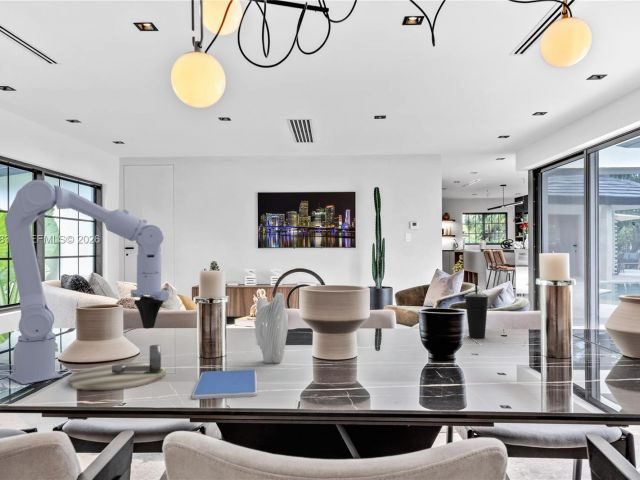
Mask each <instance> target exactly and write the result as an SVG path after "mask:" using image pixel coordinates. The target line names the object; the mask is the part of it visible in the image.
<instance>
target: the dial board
mask: <svg viewBox="0 0 640 480" xmlns="http://www.w3.org/2000/svg"><path fill="white" fill-rule="evenodd" d="M116 364H117V363H115V364H107V365H106V364H105V365H99V366H95V367H90V368H86V369H83V370H80V371H77V372H74V373H72V374H71V375H70V376H69V377H68V378H67V379H68V380H67V382H68V386H69V385H70V386H71V388H72V387H73V388H72V389H75V388H77V389H76V390H79V389H82V391H89V390H105V391H114V390H113V389H118V390H123V389H122V388H126V389H131V388H130V387H132V388H136V386H138V387H141V386H140V385H142V386H145V385H144V384H146V385H149V384H148V383H150V384H152V383H151V382H153V383H155V382H154V381H156V380H158V379H160V378H162V377H163V376H166V375H165V374H167V369H166V367H165V366H164V365H161V370H160V371H156V372H151V371H125V372H119V373H113V372H112V366H113V365H116ZM121 364H126V366H140V365H150V362H149V363H148V362H126V363H121ZM163 378H164V377H163ZM163 378H162V379H163ZM160 380H161V379H160ZM158 381H159V380H158ZM156 382H157V381H156ZM70 386H69V387H70Z"/></svg>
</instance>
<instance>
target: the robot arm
mask: <svg viewBox="0 0 640 480" xmlns="http://www.w3.org/2000/svg"><path fill="white" fill-rule="evenodd" d="M55 206H56V209H57V210H65V209H72V210H73V211H76V212H78V213H80V214H83V215H85V216H88V217H90V218H92V219H94V220H97V221H100V222H101V223H103V224H104V226H105V229H106V230H107V231H108V232H110V233H111V234H112V233H113V234H115V235H117V236H119V237H122V238H123V239H126V240H128V241H130V242H134V241H135V243H136V244H137V255H136V289H130V298H139V299H136V300H134V302H133V303H134V305H135V307H136V308H137V311H138V312H139V315H140V320H141V323H142V327H143V329H146V330H147V329H153V328H155V324H156V321H157V316H158V314H159V311H160V309H161V307H162V305H163V304H164V301H168V300H169V291H166V290H165V289H162V255H161V253H162V248H161V247H162V246H161V245H162V243H163V242H164V238H165V236H164V234H163V232H162V230H161V229H160V227H158V226H156V225H154V224H147V223H148V220H146V219H142V220H141V219H140V218H137V217H136V216H133V215H131V214H129V213H130V211H129V210H127V209H123V210H121V209H115V210H109V209H107V208H105V207H103V206H101V205H98V204H96V202H95V203H94V202H93V201H91V200H89V199H88V198H85V197H83V196H81V195H80V194H77V193H76V192H74V191H72V190H70V189H68V188H64V187H61V186H59V185H56V184H53V185H52V184H51V183H49V182H48V181H46V180H43V179H33V180H30V181H29V182H27V183H26V184H24V185H23V186H22V187H21V188H19V190H17V192H16V194H15V197H14V199H13V201H12V203H11V205H10V206H9V209H8V211H7V213H6V214H5V217H4V226H5V230H6V236H7V240H8V241H7V242H8V246H9V250H10V255H11V261H12V266H13V270H14V276H15V281H16V285H17V291H18V294H19V295H18V296H19V304H20V306H19V310H20V314H21V315H20V319H19V322H18V330H19V333H20V334H21V335H18V337H17V342H16V343H15V345H14V348H13V363H12V364H13V372H12V373H13V374H8V378H9V379H11V380H14V381H15V382H17V383H19V384H21V385H26V384H27V385H28V384H31V383H36V382H42V381H46V380H53V379H59V378H61V377H63V374H61V373H58V372H56V333H53V332H52V329H53V325H54V322H55V315H54V313H53V312H52V311H51V309H50V308H49V307H48V303H47V300H46V296H45V292H44V288H43V282H42V279H41V278H42V277H41V273H40V269H39V263H38V259H37V253H36V248H35V243H34V239H33V233H32V228H31V227H32V225H33V224H34V223H35V222H36V220H38V219H39V217H40V216H42V215H44V214H46V213H47V212H49V211H50V210H52V209H53V208H54V207H55Z"/></svg>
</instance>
